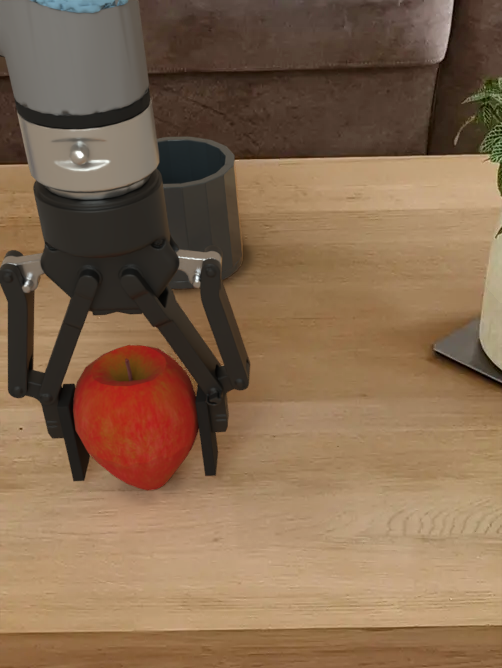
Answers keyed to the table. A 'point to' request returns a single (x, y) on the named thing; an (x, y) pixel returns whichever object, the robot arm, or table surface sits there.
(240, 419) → the table surface
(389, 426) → the table surface
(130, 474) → the apple
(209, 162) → the dark gray cup
